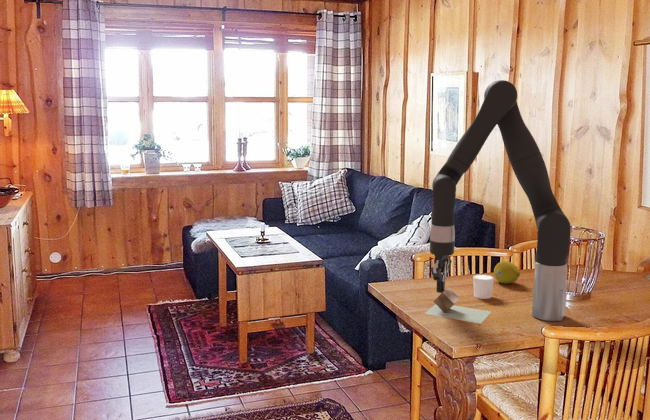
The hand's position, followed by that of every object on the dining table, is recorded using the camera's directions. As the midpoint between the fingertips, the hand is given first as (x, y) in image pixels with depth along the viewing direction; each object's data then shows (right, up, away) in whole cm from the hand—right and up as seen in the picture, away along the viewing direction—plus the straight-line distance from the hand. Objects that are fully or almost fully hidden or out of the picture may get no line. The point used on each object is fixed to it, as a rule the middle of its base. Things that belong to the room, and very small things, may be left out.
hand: (440, 291), depth 213 cm
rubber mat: (+5, -7, -2) cm, 8 cm away
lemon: (+29, -1, +29) cm, 41 cm away
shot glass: (+17, -4, +15) cm, 22 cm away
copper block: (0, -4, +1) cm, 4 cm away
